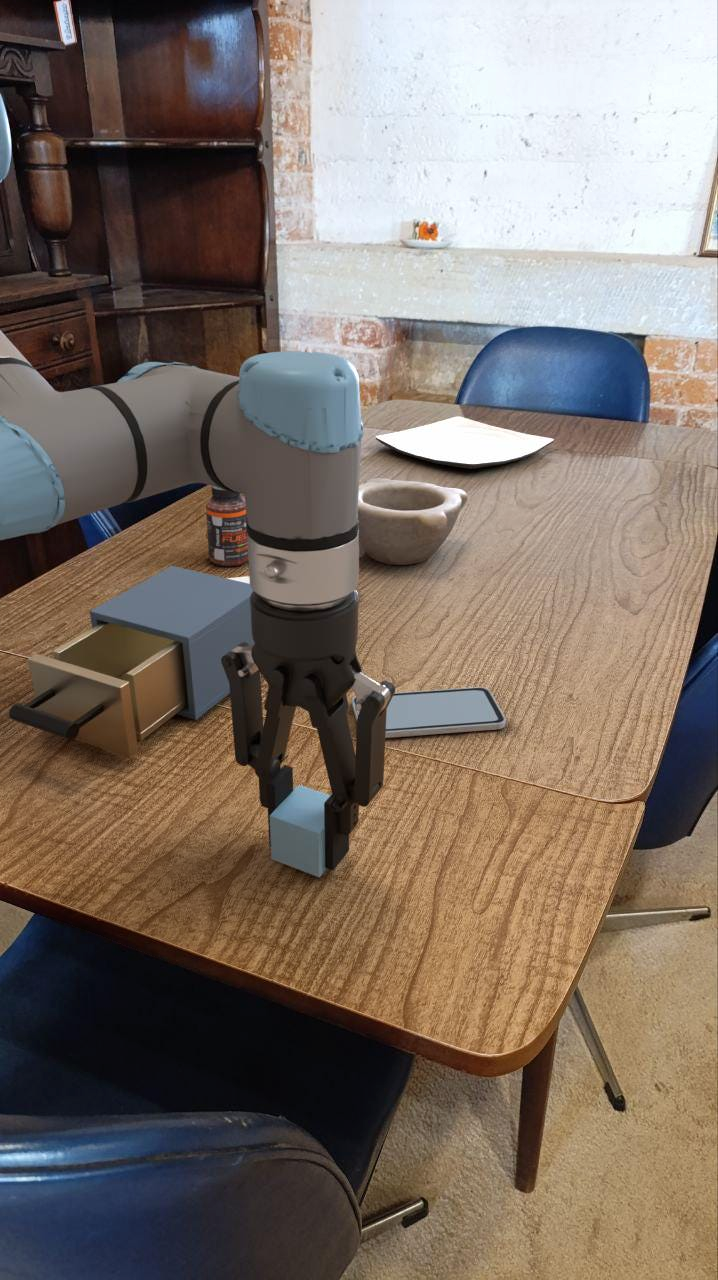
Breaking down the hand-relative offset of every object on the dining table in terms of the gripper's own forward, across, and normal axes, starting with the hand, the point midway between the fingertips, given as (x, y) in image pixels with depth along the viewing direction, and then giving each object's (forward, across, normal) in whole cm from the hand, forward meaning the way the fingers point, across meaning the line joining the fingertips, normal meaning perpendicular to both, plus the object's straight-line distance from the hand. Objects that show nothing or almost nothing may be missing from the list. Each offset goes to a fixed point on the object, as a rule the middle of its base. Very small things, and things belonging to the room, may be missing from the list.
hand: (309, 848), depth 71 cm
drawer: (0, -27, +7) cm, 28 cm away
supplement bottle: (+1, -42, +49) cm, 64 cm away
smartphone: (+1, 0, +24) cm, 24 cm away
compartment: (+1, -27, +19) cm, 33 cm away
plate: (+1, -33, +119) cm, 123 cm away
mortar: (+1, -21, +63) cm, 66 cm away
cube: (0, 0, 0) cm, 0 cm away
